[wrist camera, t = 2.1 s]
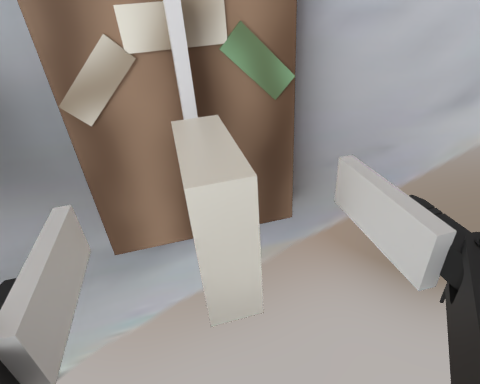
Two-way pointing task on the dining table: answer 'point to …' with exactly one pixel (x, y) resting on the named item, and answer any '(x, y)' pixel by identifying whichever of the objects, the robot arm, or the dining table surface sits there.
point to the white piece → (216, 197)
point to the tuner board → (167, 101)
